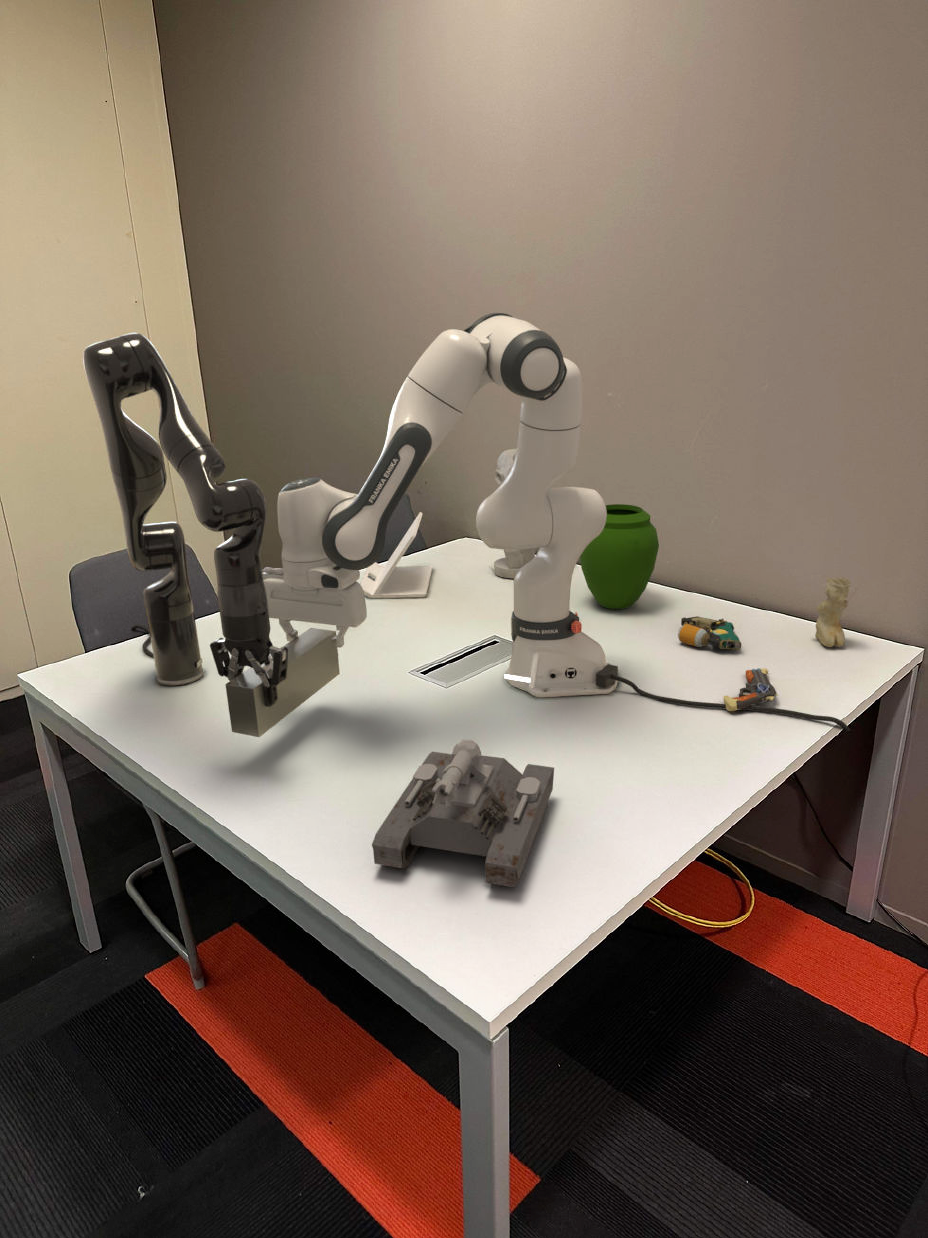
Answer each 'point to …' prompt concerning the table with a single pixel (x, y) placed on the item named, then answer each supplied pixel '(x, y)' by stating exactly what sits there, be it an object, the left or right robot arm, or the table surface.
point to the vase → (621, 557)
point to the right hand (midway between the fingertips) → (315, 643)
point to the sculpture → (832, 613)
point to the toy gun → (752, 691)
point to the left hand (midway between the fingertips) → (255, 701)
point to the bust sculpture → (512, 557)
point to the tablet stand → (398, 573)
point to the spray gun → (708, 633)
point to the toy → (468, 812)
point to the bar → (283, 683)
